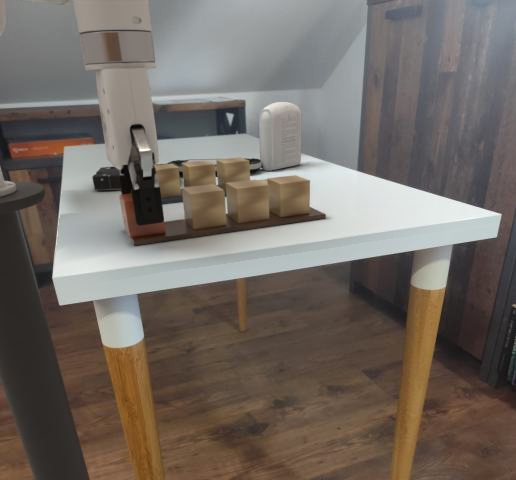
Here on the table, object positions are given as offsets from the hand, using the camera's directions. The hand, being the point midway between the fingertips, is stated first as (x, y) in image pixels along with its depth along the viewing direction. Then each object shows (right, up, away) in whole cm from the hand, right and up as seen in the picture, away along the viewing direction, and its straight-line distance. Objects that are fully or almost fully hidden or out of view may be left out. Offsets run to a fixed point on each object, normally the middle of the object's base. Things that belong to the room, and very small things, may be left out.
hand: (143, 214), depth 61 cm
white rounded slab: (+19, +21, +43) cm, 51 cm away
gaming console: (+5, +19, +40) cm, 44 cm away
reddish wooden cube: (0, -2, +1) cm, 2 cm away
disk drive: (-8, +14, +32) cm, 35 cm away
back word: (+7, +10, +23) cm, 26 cm away
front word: (+10, 0, +5) cm, 11 cm away
